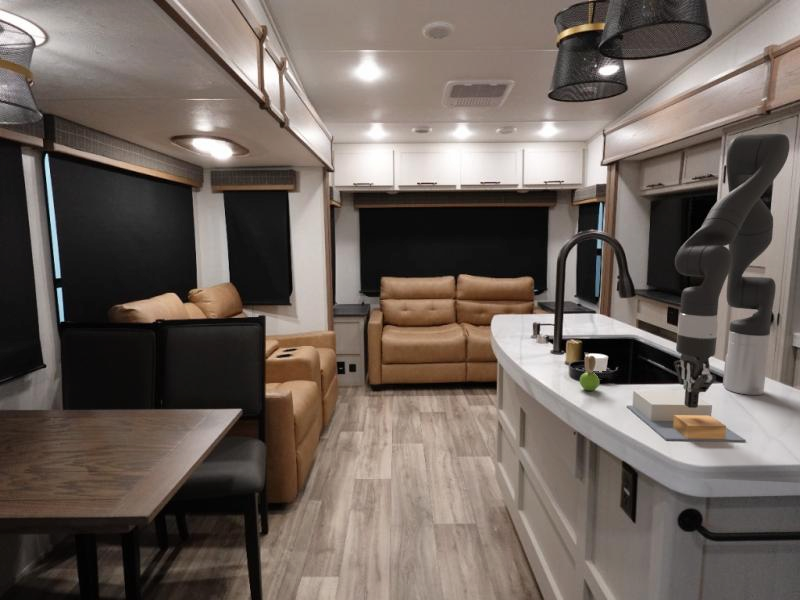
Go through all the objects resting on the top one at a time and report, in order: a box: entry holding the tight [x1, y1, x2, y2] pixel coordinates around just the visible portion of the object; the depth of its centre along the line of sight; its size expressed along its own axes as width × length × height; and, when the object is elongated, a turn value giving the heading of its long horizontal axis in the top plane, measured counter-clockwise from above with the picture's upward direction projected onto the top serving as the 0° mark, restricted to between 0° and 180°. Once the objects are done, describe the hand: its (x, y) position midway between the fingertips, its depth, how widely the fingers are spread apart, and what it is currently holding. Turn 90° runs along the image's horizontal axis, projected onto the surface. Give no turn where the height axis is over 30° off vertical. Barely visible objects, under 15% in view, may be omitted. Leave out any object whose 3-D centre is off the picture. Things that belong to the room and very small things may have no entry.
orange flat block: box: [673, 415, 727, 439], centre depth 102 cm, size 6×8×3 cm
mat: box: [626, 405, 747, 443], centre depth 109 cm, size 20×17×1 cm
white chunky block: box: [584, 352, 609, 372], centre depth 146 cm, size 7×7×7 cm
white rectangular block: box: [632, 390, 713, 421], centre depth 114 cm, size 10×14×4 cm
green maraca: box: [579, 352, 601, 392], centre depth 132 cm, size 5×6×12 cm
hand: (690, 406), depth 105 cm, fingers closed
